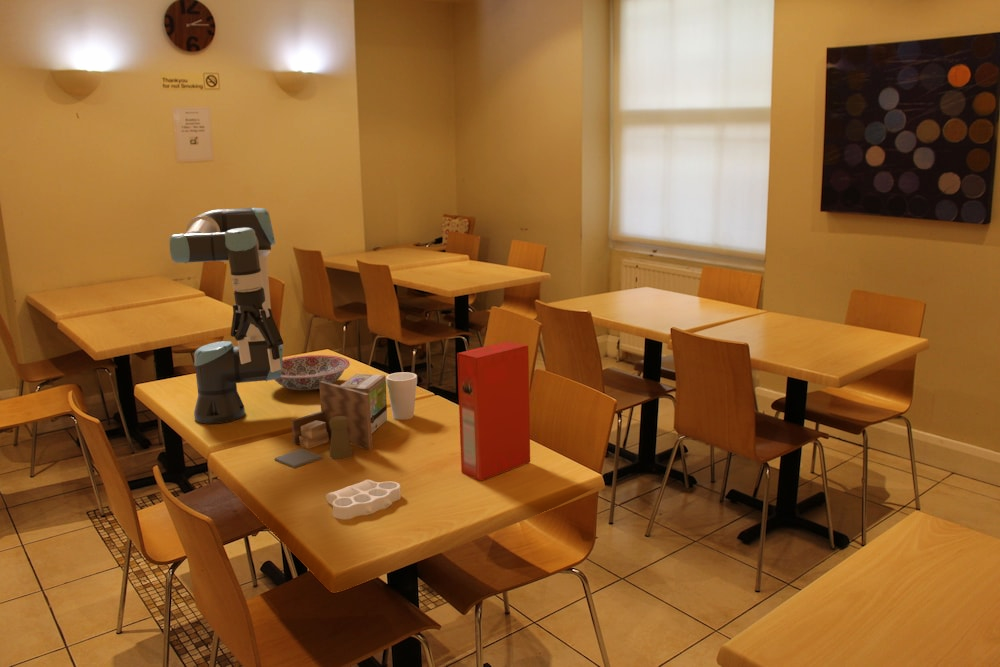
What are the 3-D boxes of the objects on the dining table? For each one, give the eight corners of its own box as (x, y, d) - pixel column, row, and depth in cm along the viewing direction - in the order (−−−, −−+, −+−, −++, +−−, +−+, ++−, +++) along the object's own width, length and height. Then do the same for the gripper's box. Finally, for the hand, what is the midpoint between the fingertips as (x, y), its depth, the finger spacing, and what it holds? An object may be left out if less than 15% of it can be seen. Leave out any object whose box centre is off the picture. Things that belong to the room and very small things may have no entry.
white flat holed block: (376, 485, 206) (413, 502, 196) (314, 507, 194) (350, 527, 184) (375, 472, 206) (412, 489, 196) (313, 494, 193) (349, 513, 183)
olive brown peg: (333, 461, 222) (330, 422, 219) (327, 453, 227) (324, 415, 224) (355, 456, 224) (352, 418, 222) (348, 449, 229) (346, 412, 227)
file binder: (460, 472, 212) (457, 352, 205) (509, 455, 224) (507, 340, 216) (481, 481, 206) (478, 358, 199) (530, 463, 218) (529, 345, 211)
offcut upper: (301, 436, 233) (300, 426, 232) (316, 430, 238) (315, 420, 237) (311, 438, 231) (311, 428, 230) (326, 432, 236) (325, 422, 235)
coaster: (274, 459, 223) (274, 457, 223) (302, 450, 230) (302, 448, 229) (294, 467, 217) (294, 465, 217) (322, 457, 224) (321, 455, 224)
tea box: (371, 436, 240) (368, 388, 236) (339, 434, 242) (335, 386, 238) (388, 419, 254) (386, 373, 251) (357, 418, 256) (354, 372, 253)
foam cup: (382, 419, 254) (380, 379, 251) (397, 410, 263) (395, 371, 260) (409, 422, 251) (408, 381, 248) (423, 413, 259) (422, 373, 256)
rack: (293, 443, 235) (288, 390, 231) (326, 432, 243) (322, 380, 240) (339, 461, 221) (335, 404, 218) (372, 448, 230) (369, 394, 226)
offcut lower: (300, 446, 234) (299, 436, 233) (320, 439, 239) (319, 429, 238) (308, 449, 231) (307, 439, 231) (328, 442, 236) (328, 432, 236)
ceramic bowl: (367, 380, 297) (365, 359, 295) (318, 403, 271) (316, 380, 269) (301, 372, 308) (299, 352, 307) (248, 394, 283) (246, 372, 281)
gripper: (209, 287, 217) (222, 363, 223) (264, 297, 202) (277, 378, 208) (233, 281, 223) (246, 355, 229) (289, 290, 207) (301, 369, 213)
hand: (260, 366), depth 218 cm, fingers open, 13 cm apart
